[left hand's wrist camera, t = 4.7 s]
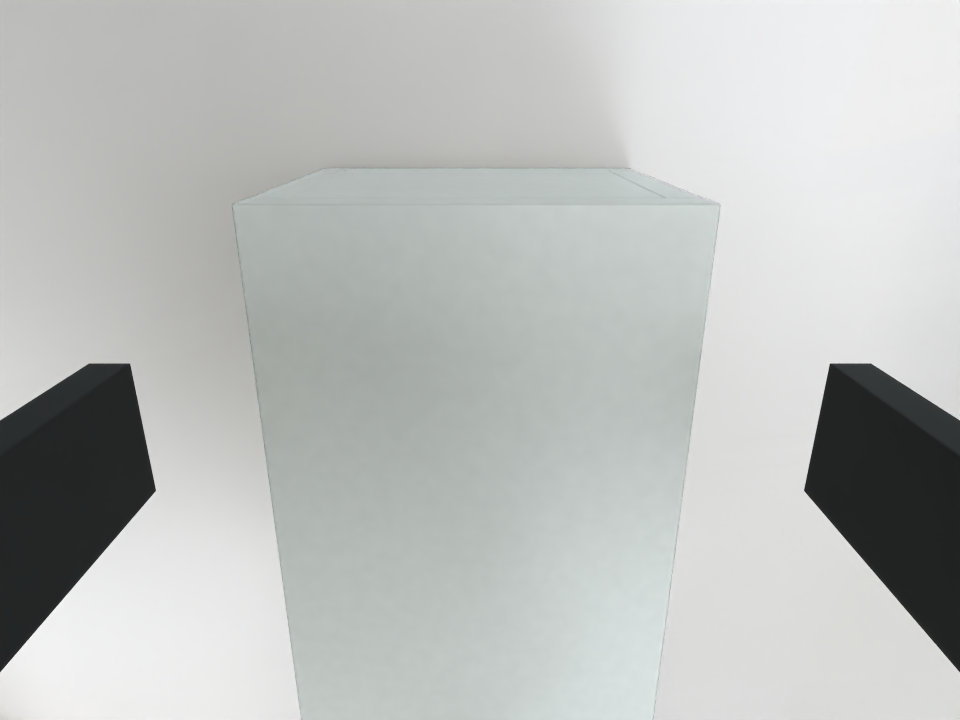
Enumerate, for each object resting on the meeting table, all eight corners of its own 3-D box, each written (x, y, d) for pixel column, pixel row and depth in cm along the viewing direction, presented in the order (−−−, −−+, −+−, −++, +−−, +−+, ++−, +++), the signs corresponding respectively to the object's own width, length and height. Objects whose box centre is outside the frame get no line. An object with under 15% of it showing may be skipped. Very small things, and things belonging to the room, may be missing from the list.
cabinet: (594, 625, 32) (639, 827, 23) (361, 625, 32) (315, 827, 23) (631, 168, 24) (721, 203, 15) (323, 167, 24) (231, 203, 15)
